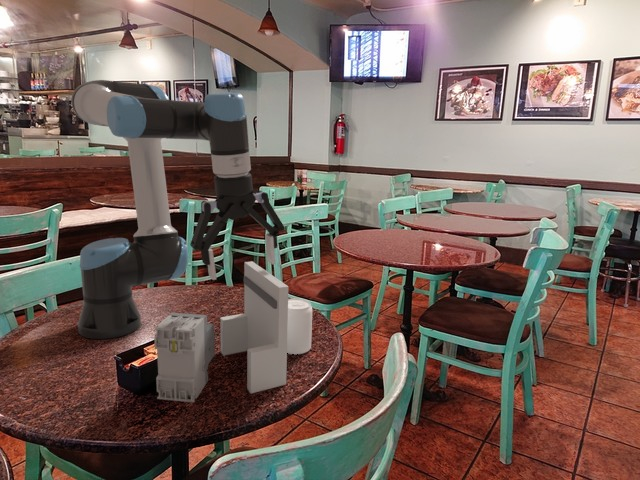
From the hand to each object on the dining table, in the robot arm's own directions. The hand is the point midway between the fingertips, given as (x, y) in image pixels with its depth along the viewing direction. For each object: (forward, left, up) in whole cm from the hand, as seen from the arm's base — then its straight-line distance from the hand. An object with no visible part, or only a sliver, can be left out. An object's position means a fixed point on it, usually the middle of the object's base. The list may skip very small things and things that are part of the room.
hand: (243, 269), depth 98 cm
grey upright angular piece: (+2, +1, -23) cm, 23 cm away
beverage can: (-2, +14, -23) cm, 27 cm away
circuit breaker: (+2, -13, -23) cm, 26 cm away
